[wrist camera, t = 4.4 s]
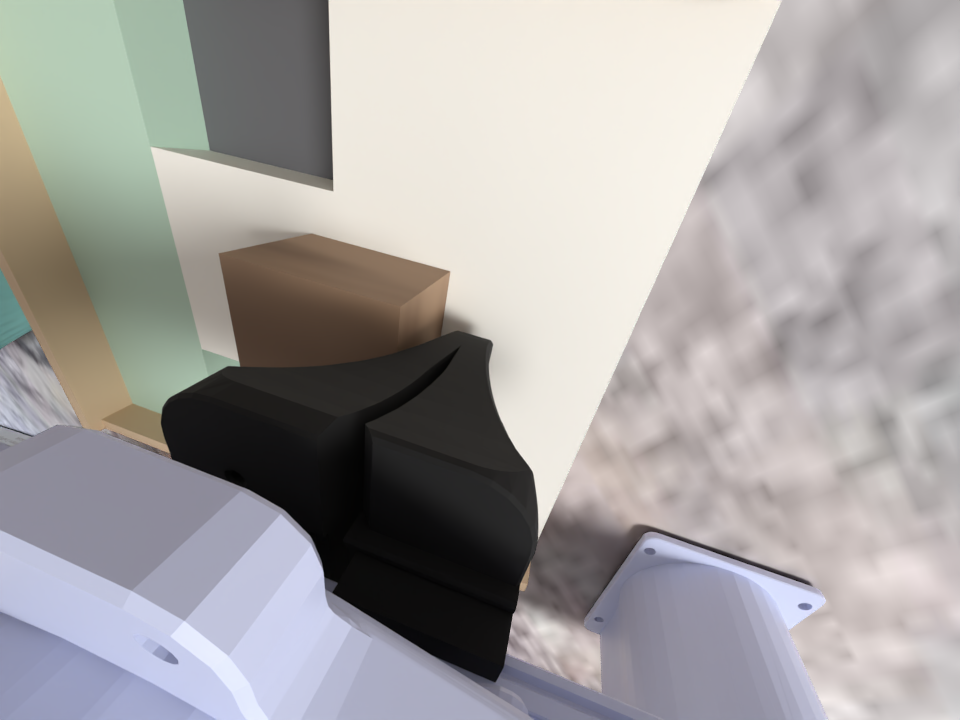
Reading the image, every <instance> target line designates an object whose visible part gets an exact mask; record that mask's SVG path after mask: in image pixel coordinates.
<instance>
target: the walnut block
mask: <svg viewBox="0 0 960 720" xmlns="http://www.w3.org/2000/svg"><path fill="white" fill-rule="evenodd" d="M219 258H220V264H221V269H222V274H223V279H224V285H225V290H226V295H227V300H228V305H229V311H230V316H231V321H232V326H233V332H234V337H235V342H236V347H237V352H238V358H239V363H240V367H309V366H323V365H332V364H340V363H348V362H355V361H362V360H367V359H372V358H376V357H381V356H385V355H389V354H392V353H396V352H399V351H402V350H405V349H408V348H411V347H414V346H418V345H420V344H423V343H425V342H428V341H431V340H433V339H436V338H438V337H441V332H442V326H443V319H444V312H445V305H446V298H447V292H448V285H449V278H450V271H447V270H444V269H440V268H436V267H433V266H429V265H425V264H422V263H418V262H414V261H411V260H407V259H403V258H400V257H396V256H392V255H389V254H385V253H381V252H378V251H374V250H370V249H367V248H363V247H359V246H356V245H352V244H349V243H345V242H341V241H338V240H334V239H330V238H327V237H323V236H319V235H316V234H307V235H302V236H298V237H293V238H288V239H283V240H279V241H274V242H269V243H265V244H260V245H255V246H251V247H246V248H241V249H237V250H232V251H227V252H222V253H219Z"/></svg>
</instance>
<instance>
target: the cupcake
mask: <svg viewBox="0 0 960 720" xmlns="http://www.w3.org/2000/svg"><path fill="white" fill-rule="evenodd" d="M31 330H32V328H31V326H30V324H29V323H28V321H27V319H26V317H25V315H24V313H23V311H22V309H21V307H20V305H19V303H18V301H17V299H16V297H15V296H14V294H13V292H12V290H11V288H10V286H9V284H8V282H7V280H6V278H5V276H4V274H3V272H2V271H1V269H0V349H1V348H3V347H4V346H6V345H8V344H9V343H11V342H12V341H14V340H16V339H17V338H19V337H21V336H22V335H24V334H26V333H28V332H30V331H31Z"/></svg>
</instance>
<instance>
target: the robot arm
mask: <svg viewBox="0 0 960 720" xmlns="http://www.w3.org/2000/svg"><path fill="white" fill-rule="evenodd" d="M492 348H493V343H492V341H491V340H489V339H485V338H482V337H478V336H475V335H472V334H468V333H465V332H461V331H458V330H457V331H454V332H451V333H448V334H446V335H443V336H441V337H438V338H436V339H433V340H431V341H428V342H425V343H423V344H420V345H418V346H414V347H411V348H408V349H405V350H402V351H399V352H396V353H392V354H389V355H385V356H381V357H376V358H372V359H367V360H362V361H355V362H348V363H340V364H332V365H323V366H309V367H239V366H227V367H225V368H223V369H221V370H219V371H218V372H216V373H214V374H212V375H210V376H208V377H207V378H205V379H203V380H201V381H199V382H197V383H195V384H194V385H192V386H190V387H188V388H186V389H184V390H183V391H181V392H179V393H177V394H175V395H173V396H172V397H170V398H168V400H167V401H166V403H165V404H164V406H163V407H162V415H161V427H162V431H163V435H164V438H165V441H166V444H167V446H168V449H169V452H170V454H171V457H172V459H169V458H167V457H164V456H162V455H159V454H157V453H154V452H152V451H149V450H146V449H144V448H141V447H139V446H136V445H134V444H131V443H129V442H126V441H124V440H121V439H119V438H116V437H113V436H111V435H108V434H106V433H103V432H101V431H98V430H92V429H86V428H80V427H74V426H64V425H56V426H54V427H52V428H50V429H48V430H45V431H43V432H41V433H39V434H37V435H35V436H33V437H31V438H29V439H26V440H24V441H22V442H20V443H18V444H16V445H14V446H10V445H7V444H5V443H3V442H0V720H828V718H827V715H826V713H825V711H824V709H823V706H822V704H821V702H820V700H819V697H818V695H817V693H816V691H815V688H814V686H813V684H812V682H811V679H810V677H809V675H808V673H807V670H806V668H805V666H804V664H803V661H802V659H801V657H800V655H799V653H798V650H797V648H796V646H795V644H794V641H793V639H792V637H791V635H790V632H789V630H790V629H791V628H792V627H794V626H795V625H796V624H798V623H799V622H801V621H802V620H803V619H805V618H806V617H807V616H809V615H810V614H811V613H813V612H814V611H816V610H817V609H818V608H820V607H821V606H822V605H823V604H824V603H825V602H826V600H825V597H824V596H823V594H822V592H821V591H820V590H819V589H817V588H815V587H812V586H809V585H806V584H804V583H801V582H798V581H795V580H792V579H789V578H786V577H783V576H780V575H778V574H775V573H772V572H769V571H766V570H763V569H760V568H757V567H755V566H752V565H749V564H746V563H743V562H740V561H737V560H734V559H732V558H729V557H726V556H723V555H720V554H717V553H714V552H711V551H709V550H706V549H703V548H700V547H697V546H694V545H691V544H688V543H685V542H683V541H680V540H677V539H674V538H671V537H668V536H665V535H662V534H660V533H657V532H647V533H645V534H644V535H643V536H642V537H641V539H640V540H639V541H638V543H637V544H636V546H635V547H634V548H633V550H632V551H631V553H630V554H629V556H628V557H627V558H626V560H625V561H624V563H623V564H622V566H621V567H620V568H619V570H618V571H617V573H616V574H615V576H614V577H613V578H612V580H611V581H610V583H609V584H608V586H607V587H606V588H605V590H604V591H603V593H602V594H601V596H600V597H599V598H598V600H597V601H596V603H595V604H594V606H593V607H592V608H591V610H590V611H589V613H588V614H587V616H586V617H585V619H584V625H585V627H586V628H587V629H588V630H590V631H592V632H595V633H597V634H600V649H601V682H602V693H600V692H597V691H595V690H592V689H590V688H588V687H585V686H583V685H580V684H578V683H576V682H573V681H571V680H568V679H566V678H564V677H561V676H559V675H557V674H554V673H552V672H549V671H547V670H545V669H542V668H540V667H537V666H535V665H533V664H530V663H528V662H526V661H523V660H521V659H518V658H516V657H514V656H511V655H509V654H506V652H507V646H508V640H509V634H510V628H511V622H512V616H513V614H514V612H515V610H516V606H517V601H518V595H519V588H520V584H521V581H522V579H523V577H524V575H525V573H526V571H527V568H528V566H529V564H530V562H531V560H532V558H533V556H534V553H535V550H536V546H537V542H538V504H537V495H536V488H535V481H534V475H533V472H532V470H531V468H530V467H529V466H528V464H527V463H526V462H525V460H524V459H523V458H522V456H521V455H520V454H519V452H518V451H517V450H516V448H515V446H514V445H513V443H512V441H511V440H510V438H509V436H508V434H507V432H506V429H505V427H504V425H503V423H502V421H501V419H500V416H499V414H498V411H497V408H496V405H495V401H494V398H493V394H492V389H491V383H490V376H489V361H490V357H491V352H492Z"/></svg>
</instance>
